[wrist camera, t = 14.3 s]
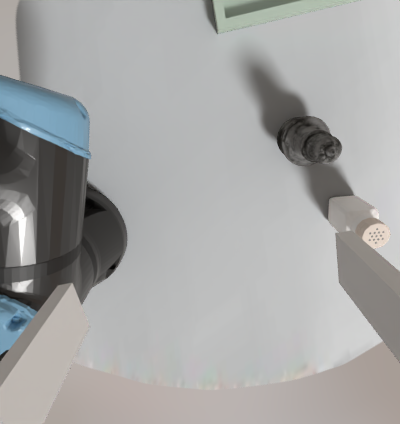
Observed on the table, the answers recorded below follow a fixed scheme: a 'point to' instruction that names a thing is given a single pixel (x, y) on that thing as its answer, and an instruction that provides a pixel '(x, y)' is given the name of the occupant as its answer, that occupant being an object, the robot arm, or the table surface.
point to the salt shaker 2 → (358, 219)
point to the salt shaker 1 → (308, 141)
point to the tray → (263, 11)
